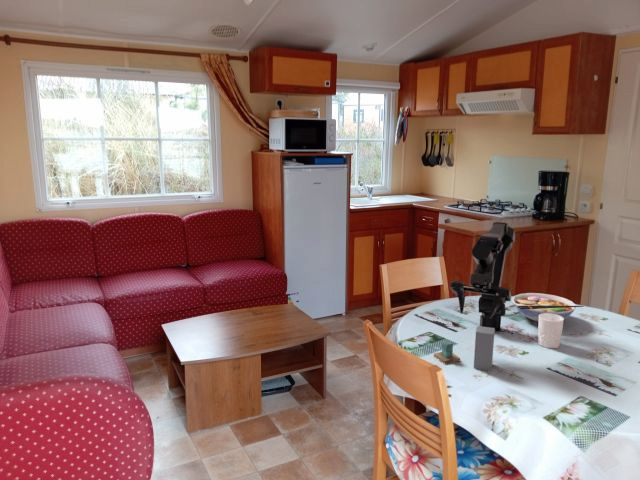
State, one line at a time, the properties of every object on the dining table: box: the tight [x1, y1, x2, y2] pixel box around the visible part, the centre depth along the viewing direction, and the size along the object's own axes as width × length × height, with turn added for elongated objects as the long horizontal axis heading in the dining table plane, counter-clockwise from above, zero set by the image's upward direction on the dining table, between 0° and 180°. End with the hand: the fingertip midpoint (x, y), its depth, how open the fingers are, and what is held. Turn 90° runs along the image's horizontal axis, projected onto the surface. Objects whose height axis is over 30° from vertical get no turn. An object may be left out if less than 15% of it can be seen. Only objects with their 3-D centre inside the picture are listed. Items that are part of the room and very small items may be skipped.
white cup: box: [537, 313, 565, 349], centre depth 173 cm, size 8×8×10 cm
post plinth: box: [433, 340, 461, 364], centre depth 163 cm, size 6×6×6 cm
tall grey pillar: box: [473, 325, 496, 372], centre depth 158 cm, size 5×5×12 cm
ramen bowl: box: [511, 292, 585, 323], centre depth 196 cm, size 25×23×8 cm
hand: (475, 315), depth 163 cm, fingers open, 9 cm apart
